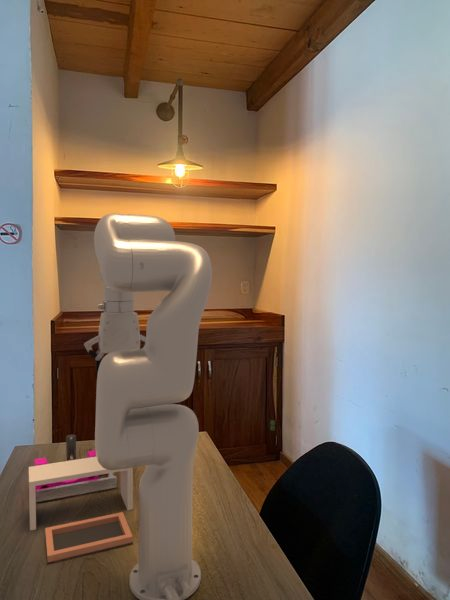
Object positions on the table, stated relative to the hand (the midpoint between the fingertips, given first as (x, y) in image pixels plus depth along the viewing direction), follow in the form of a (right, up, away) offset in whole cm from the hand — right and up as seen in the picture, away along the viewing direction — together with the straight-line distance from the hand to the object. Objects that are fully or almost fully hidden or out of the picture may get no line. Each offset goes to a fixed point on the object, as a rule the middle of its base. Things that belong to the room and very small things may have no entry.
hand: (119, 373), depth 117 cm
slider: (-12, -28, +1) cm, 30 cm away
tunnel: (-5, -29, -14) cm, 33 cm away
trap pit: (-1, -30, -24) cm, 39 cm away
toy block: (-12, -29, -3) cm, 32 cm away
